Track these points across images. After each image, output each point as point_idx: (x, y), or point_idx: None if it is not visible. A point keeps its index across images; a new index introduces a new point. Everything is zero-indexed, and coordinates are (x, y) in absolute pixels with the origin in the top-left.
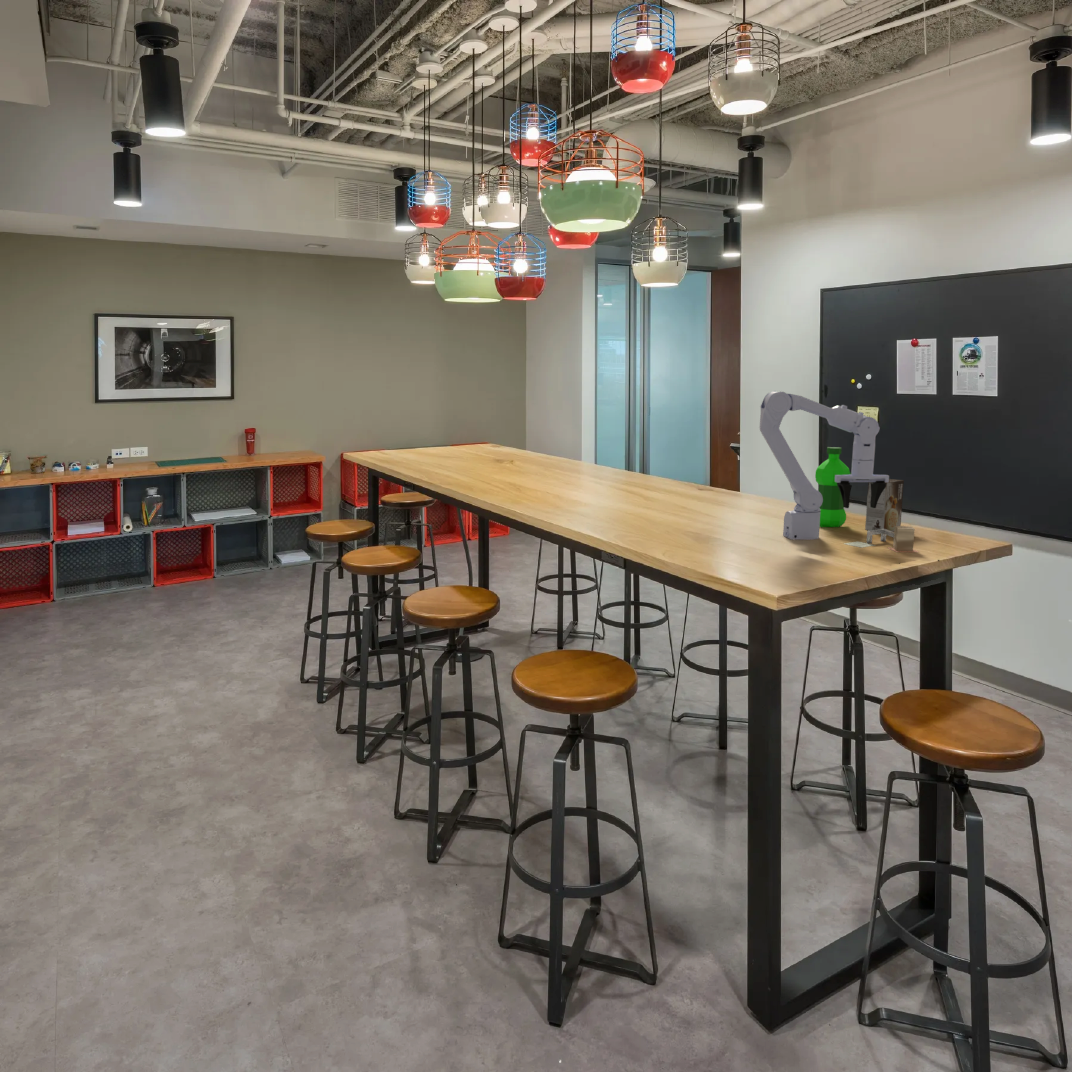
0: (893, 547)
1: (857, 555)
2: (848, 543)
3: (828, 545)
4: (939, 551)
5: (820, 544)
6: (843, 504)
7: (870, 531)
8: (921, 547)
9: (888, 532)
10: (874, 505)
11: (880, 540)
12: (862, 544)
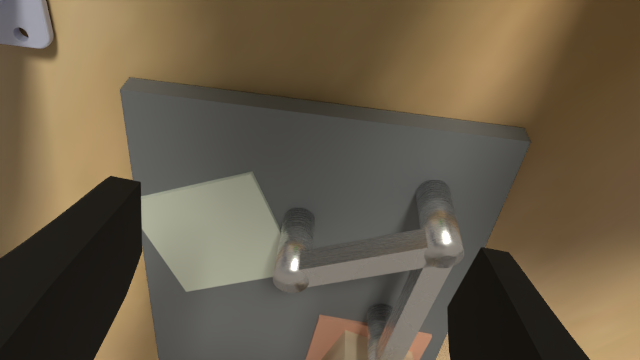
0: (342, 335)
1: (143, 315)
2: (161, 207)
3: (68, 105)
4: (580, 341)
5: (19, 63)
6: (85, 200)
7: (287, 288)
8: (591, 269)
9: (398, 315)
10: (455, 342)
11: (418, 191)
12: (233, 244)
